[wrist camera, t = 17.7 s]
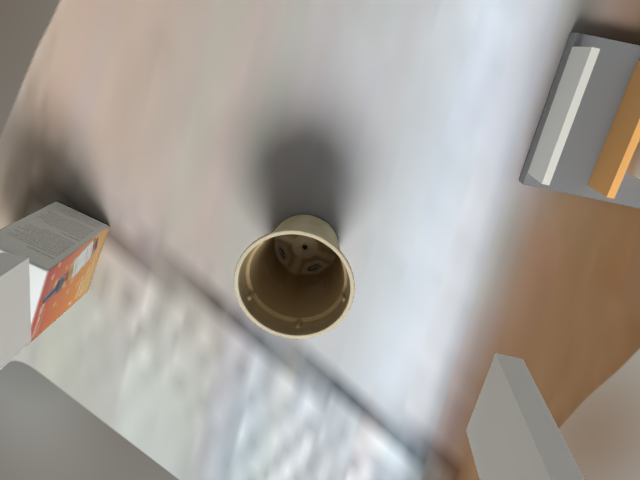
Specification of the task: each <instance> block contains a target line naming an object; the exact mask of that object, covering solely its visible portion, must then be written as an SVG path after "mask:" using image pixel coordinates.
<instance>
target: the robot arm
mask: <svg viewBox="0 0 640 480" xmlns="http://www.w3.org/2000/svg"><path fill="white" fill-rule="evenodd" d="M30 342H31V312H30V274H29V258H28V257H23V256H18V255H13V254H9V253H4V252H1V253H0V370H1V369H2V368H3V367H4V366H5V365H6V364H7V363H8V362H9V361H10V360H12V359H13V358H14V357H15V356H16V355H17V354H18V353H19V352H20V351H21V350H22V349H24V348H25V347H26V346H27V345H28V344H29V343H30ZM466 432H467V435H468V439H469V443H470V446H471V450H472V454H473V457H474V461H475V464H476V468H477V472H478V475H479V479H480V480H585V479H584V477H583V475H582V473H581V472H580V469H579V468H578V466H577V464H576V462H575V460H574V458H573V456H572V454H571V452H570V450H569V448H568V446H567V444H566V442H565V440H564V438H563V436H562V435H561V433H560V431H559V429H558V427H557V425H556V423H555V421H554V419H553V417H552V415H551V413H550V411H549V409H548V407H547V405H546V403H545V401H544V399H543V397H542V396H541V394H540V392H539V390H538V388H537V386H536V384H535V382H534V380H533V378H532V376H531V374H530V372H529V370H528V368H527V366H526V364H525V363H524V361H523V359H521V358H516V357H511V356H506V355H501V354H496V353H495V356H494V359H493V361H492V364H491V367H490V369H489V372H488V374H487V377H486V380H485V382H484V385H483V387H482V390H481V393H480V395H479V398H478V401H477V403H476V406H475V408H474V411H473V414H472V416H471V419H470V421H469V424H468V427H467V429H466Z"/></svg>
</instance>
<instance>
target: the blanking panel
mask: <svg viewBox="0 0 640 480" xmlns="http://www.w3.org/2000/svg"><path fill="white" fill-rule="evenodd" d="M626 173H628V174H630V175H632V176H634V177H636V178H638V179H640V140H639V142H638V144H637V147H636V149H635V151H634V154H633V156H632V158H631V161H630V163H629V165H628V168H627V170H626Z"/></svg>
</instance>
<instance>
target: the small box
mask: <svg viewBox="0 0 640 480" xmlns="http://www.w3.org/2000/svg"><path fill="white" fill-rule="evenodd" d="M108 231H109V226H108V225H106V224H104V223H102V222H100V221H98V220H96V219H93V218H91V217H89V216H87V215H85V214H83V213H81V212H78V211H76V210H74V209H72V208H70V207H68V206H65V205H63V204H61V203H59V202H54V203H52V204H50V205H48V206H46V207H44V208H42V209H40V210H38V211H36V212H34V213H32V214H30V215H28V216H26V217H24V218H22V219H20V220H18V221H16V222H14V223H12V224H10V225H8V226H6V227H4V228H2V229H0V253H1V252H4V253H9V254H13V255H18V256H23V257H28V258H29V274H30V312H31V342H32V341H33V340H34V339H35V338H36V337H37V336H38V335H39V334H41V333H42V332H43V331H44V330H45V329H46V328H47V327H48V326H50V325H51V324H52V323H53V322H54V321H55V320H56V319H57V318H59V317H60V316H61V315H62V314H63V313H64V312H65V311H66V310H68V309H69V308H70V307H71V306H72V305H73V304H74V303H75V302H76V301H78V300H79V299H80V298H81V297H82V296H83V295H84V294H85V293H87V291H88V289H89V286H90V282H91V279H92V276H93V273H94V270H95V267H96V264H97V261H98V259H99V256H100V253H101V250H102V247H103V245H104V242H105V239H106V236H107V233H108Z"/></svg>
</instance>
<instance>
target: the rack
mask: <svg viewBox="0 0 640 480" xmlns="http://www.w3.org/2000/svg"><path fill="white" fill-rule="evenodd" d="M639 140H640V46H639V45H635V44H630V43H625V42H620V41H615V40H611V39H606V38H601V37H596V36H591V35H586V34H582V33H577V32H576V33H570V36H569V38H568V41H567V44H566V47H565V50H564V53H563V56H562V58H561V61H560V64H559V67H558V70H557V73H556V76H555V78H554V81H553V84H552V87H551V90H550V93H549V96H548V98H547V101H546V104H545V107H544V110H543V113H542V116H541V118H540V121H539V124H538V127H537V130H536V133H535V136H534V139H533V141H532V144H531V147H530V150H529V153H528V156H527V159H526V161H525V164H524V167H523V170H522V173H521V176H520V179H519V181H520V182H521V183H522V184H524V185H529V186H534V187H539V188H544V189H549V190H554V191H558V192H563V193H568V194H573V195H578V196H583V197H587V198H592V199H597V200H602V201H607V202H612V203H617V204H621V205H626V206H631V207H636V208H640V179H638V178H636V177H634V176H632V175H630V174H628V173H626V170H627V168H628V165H629V163H630V161H631V158H632V156H633V154H634V151H635V149H636V147H637V144H638V142H639Z"/></svg>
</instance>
